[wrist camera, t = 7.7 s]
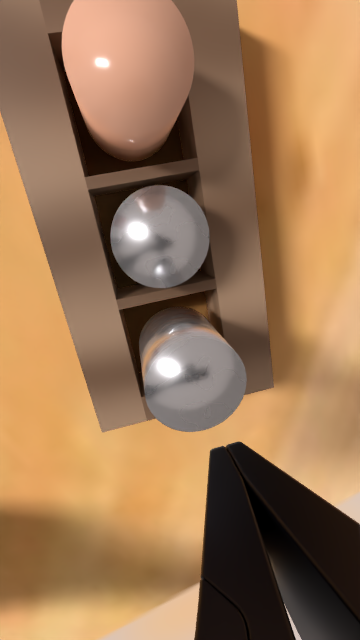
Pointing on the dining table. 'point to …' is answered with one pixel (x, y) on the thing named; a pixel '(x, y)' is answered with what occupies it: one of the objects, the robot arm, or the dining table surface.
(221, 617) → the robot arm
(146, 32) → the peach egg-shaped piece
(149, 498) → the dining table surface
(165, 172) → the brown wooden tray
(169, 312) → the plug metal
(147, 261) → the plug metal mid
